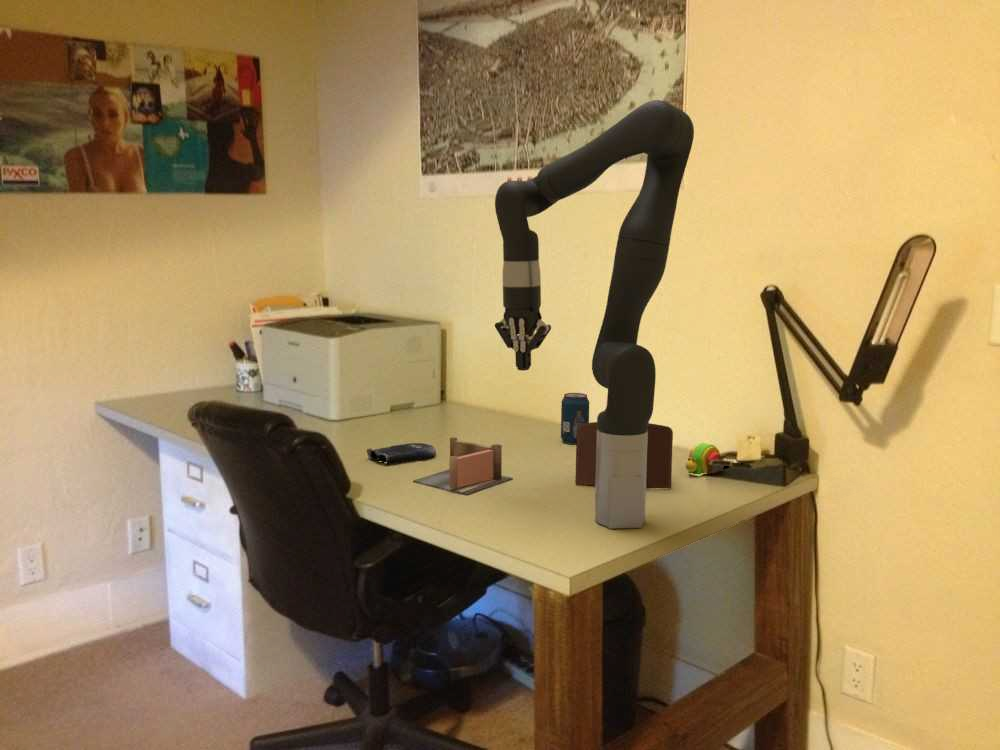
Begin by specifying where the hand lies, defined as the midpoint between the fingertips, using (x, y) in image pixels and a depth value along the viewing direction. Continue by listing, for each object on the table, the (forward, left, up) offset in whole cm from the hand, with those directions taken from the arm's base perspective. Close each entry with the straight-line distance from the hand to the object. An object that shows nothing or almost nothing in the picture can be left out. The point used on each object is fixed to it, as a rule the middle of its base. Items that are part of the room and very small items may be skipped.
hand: (523, 369), depth 184 cm
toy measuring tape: (+12, -45, -25) cm, 53 cm away
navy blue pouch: (+28, +24, -26) cm, 45 cm away
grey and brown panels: (+8, +12, -25) cm, 29 cm away
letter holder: (+5, -22, -26) cm, 34 cm away
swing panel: (+3, +10, -24) cm, 26 cm away
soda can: (+40, -18, -25) cm, 51 cm away
